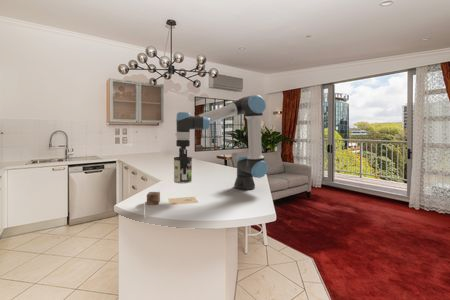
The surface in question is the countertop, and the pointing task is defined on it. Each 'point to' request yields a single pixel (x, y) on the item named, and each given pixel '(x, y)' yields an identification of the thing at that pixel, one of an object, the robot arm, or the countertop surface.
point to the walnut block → (153, 198)
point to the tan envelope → (182, 200)
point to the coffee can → (179, 171)
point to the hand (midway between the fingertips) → (182, 177)
